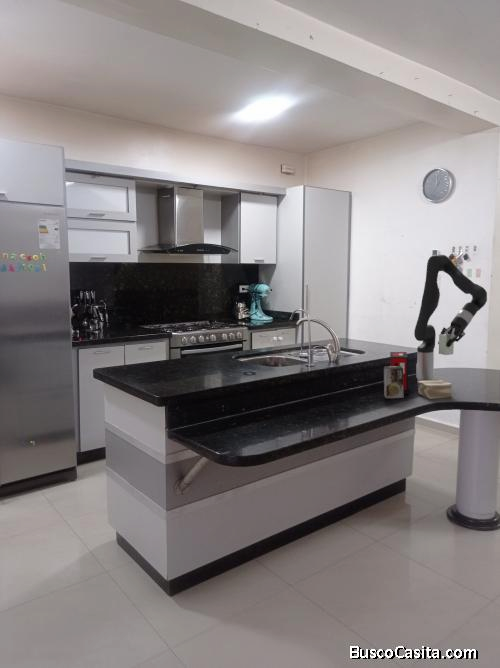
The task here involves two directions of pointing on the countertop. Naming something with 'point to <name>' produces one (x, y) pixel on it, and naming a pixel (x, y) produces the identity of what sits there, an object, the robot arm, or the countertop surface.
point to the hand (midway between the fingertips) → (443, 345)
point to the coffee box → (393, 382)
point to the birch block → (434, 388)
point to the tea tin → (442, 344)
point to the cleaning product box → (402, 361)
